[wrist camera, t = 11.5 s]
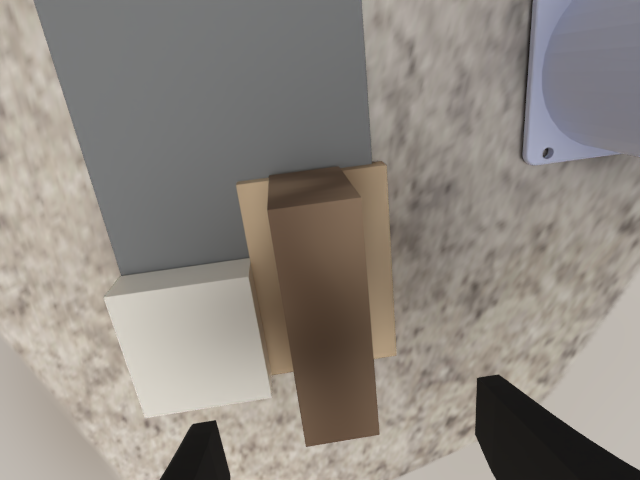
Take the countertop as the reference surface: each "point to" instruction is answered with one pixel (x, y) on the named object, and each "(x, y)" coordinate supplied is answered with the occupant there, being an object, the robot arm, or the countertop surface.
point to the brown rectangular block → (325, 301)
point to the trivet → (378, 260)
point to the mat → (204, 111)
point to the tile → (192, 336)
